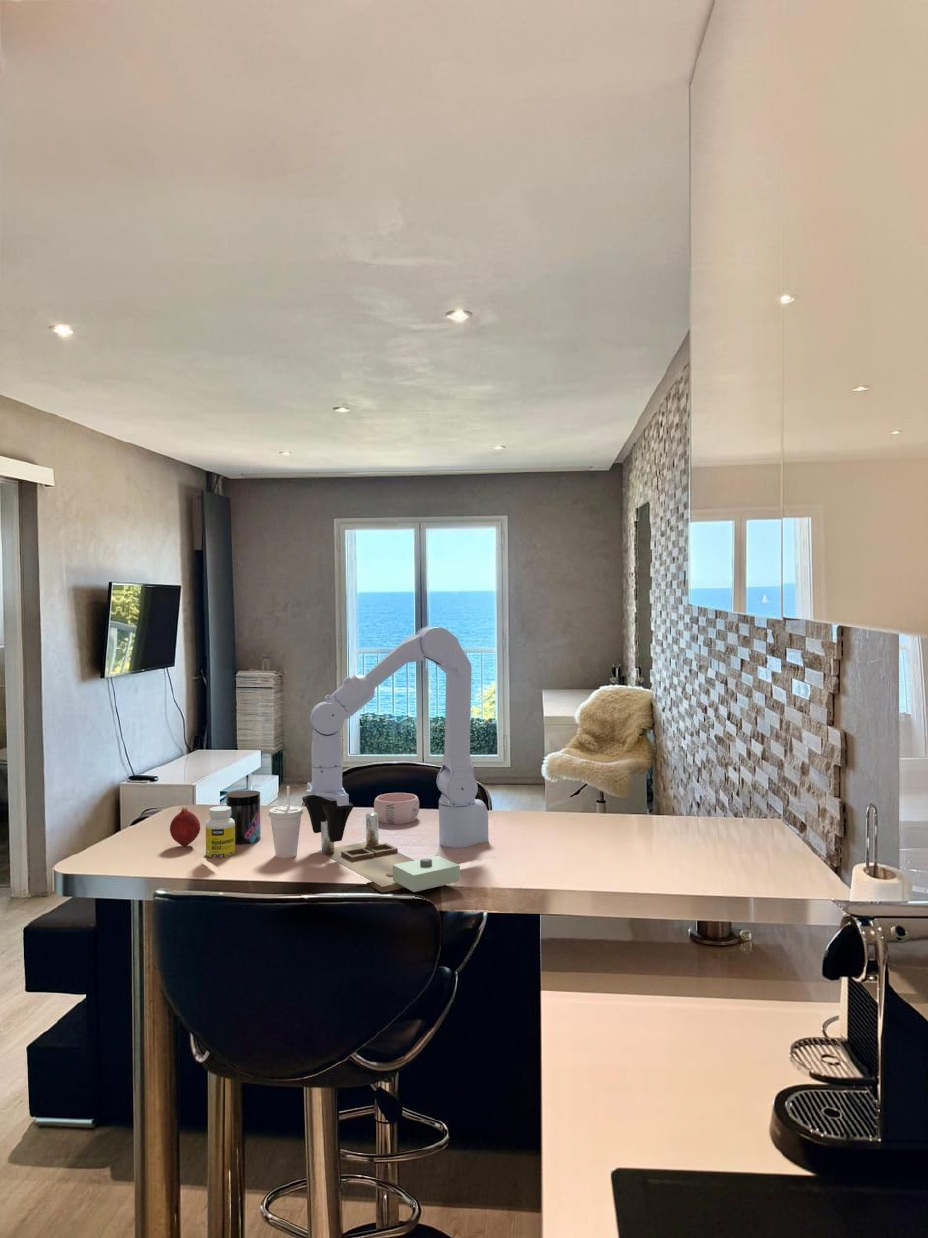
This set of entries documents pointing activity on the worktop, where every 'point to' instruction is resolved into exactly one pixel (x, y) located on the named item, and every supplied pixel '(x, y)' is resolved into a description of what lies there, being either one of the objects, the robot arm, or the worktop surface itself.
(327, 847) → the pin
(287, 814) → the smoothie
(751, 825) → the worktop surface
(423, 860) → the cover
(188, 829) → the onion
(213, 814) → the supplement bottle
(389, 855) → the board
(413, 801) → the pink bowl
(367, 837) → the pin
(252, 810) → the supplement container
